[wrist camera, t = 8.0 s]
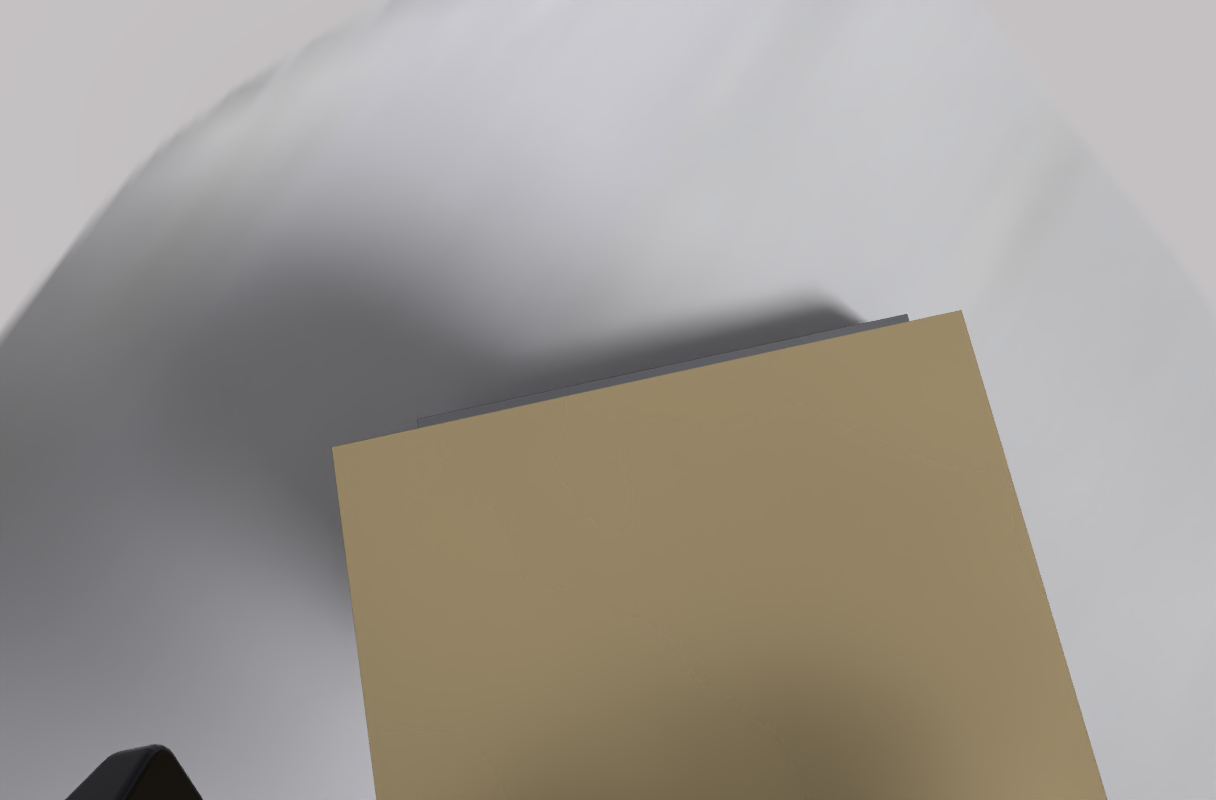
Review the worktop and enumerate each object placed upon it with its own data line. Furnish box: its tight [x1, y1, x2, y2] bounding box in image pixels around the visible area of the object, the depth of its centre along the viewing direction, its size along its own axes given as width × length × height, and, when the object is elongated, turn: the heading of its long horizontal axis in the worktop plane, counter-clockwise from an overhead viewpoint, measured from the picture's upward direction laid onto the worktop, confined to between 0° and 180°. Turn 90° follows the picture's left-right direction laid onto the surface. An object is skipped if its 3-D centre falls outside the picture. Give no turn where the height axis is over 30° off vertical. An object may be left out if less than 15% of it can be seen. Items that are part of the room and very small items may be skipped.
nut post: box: [332, 310, 1107, 800], centre depth 12 cm, size 4×4×12 cm
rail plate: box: [417, 314, 909, 428], centre depth 16 cm, size 12×8×2 cm
